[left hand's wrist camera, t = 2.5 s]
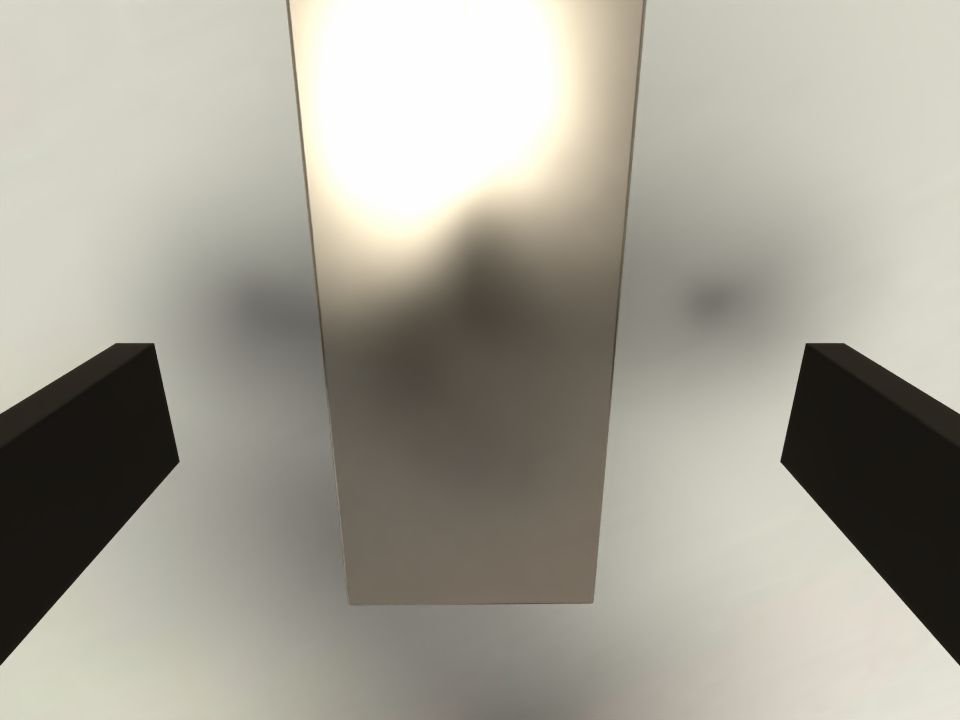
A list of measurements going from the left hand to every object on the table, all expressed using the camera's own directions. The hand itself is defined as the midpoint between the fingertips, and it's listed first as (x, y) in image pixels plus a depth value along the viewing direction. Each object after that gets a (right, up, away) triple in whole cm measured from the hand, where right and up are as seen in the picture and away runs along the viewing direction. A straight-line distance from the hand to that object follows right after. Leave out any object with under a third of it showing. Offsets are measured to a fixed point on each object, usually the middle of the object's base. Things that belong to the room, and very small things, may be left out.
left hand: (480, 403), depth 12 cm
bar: (0, +9, +4) cm, 10 cm away
